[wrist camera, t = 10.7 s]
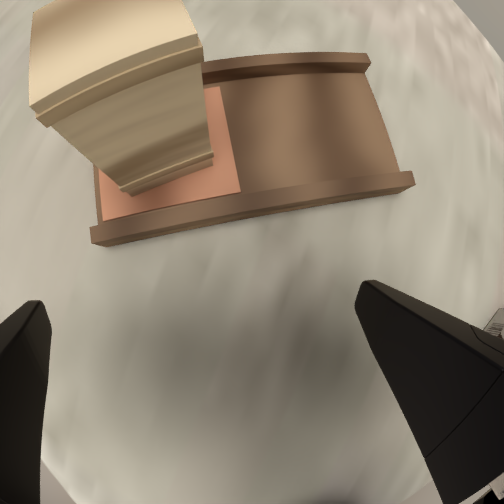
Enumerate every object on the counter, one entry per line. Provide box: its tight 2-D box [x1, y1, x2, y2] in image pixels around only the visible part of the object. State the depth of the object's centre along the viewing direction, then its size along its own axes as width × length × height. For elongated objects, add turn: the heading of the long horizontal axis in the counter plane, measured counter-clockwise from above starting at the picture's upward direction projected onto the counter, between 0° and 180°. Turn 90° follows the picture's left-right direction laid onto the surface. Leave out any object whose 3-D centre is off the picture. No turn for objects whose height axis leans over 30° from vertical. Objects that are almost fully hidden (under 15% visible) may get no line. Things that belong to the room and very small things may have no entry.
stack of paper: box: [29, 0, 214, 197], centre depth 13 cm, size 6×6×12 cm
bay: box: [90, 52, 416, 247], centre depth 20 cm, size 21×11×2 cm, turn 101°
